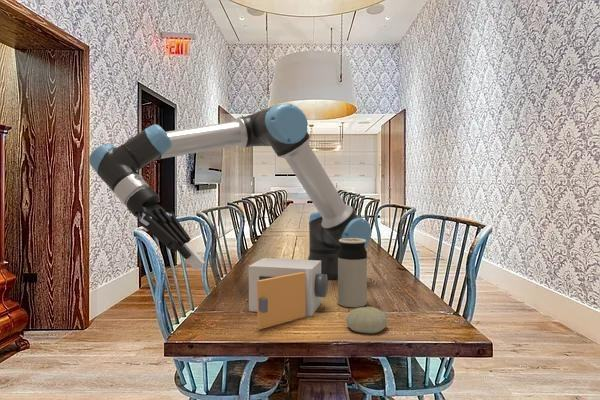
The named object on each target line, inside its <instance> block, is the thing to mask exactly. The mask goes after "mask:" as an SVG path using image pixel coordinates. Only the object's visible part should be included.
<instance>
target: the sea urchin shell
mask: <svg viewBox="0 0 600 400" xmlns="http://www.w3.org/2000/svg"><path fill="white" fill-rule="evenodd" d="M345 321H346V325H347V326H348V327H349V329H351V330H352V331H354V332H356V333H361V334H377V333H379V332H381V331H382V330H384V329H385V328H386V327H387V324H388V318H387V316H386V314H385V312H383V311H382V310H380V309H378V308H376V307H373V306H362V307H358V308H353V309H352V310H350V311H349V313H348V314H347V316H346V319H345Z"/></svg>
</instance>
